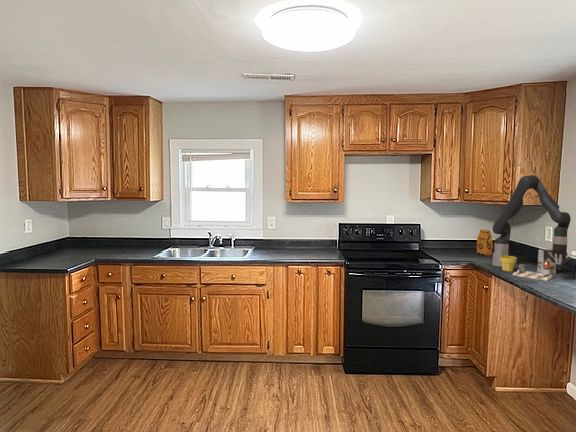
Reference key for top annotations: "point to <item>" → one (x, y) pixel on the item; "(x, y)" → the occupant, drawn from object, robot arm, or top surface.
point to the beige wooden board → (531, 274)
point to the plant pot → (508, 262)
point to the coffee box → (543, 257)
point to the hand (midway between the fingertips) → (558, 269)
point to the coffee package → (484, 242)
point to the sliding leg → (546, 268)
